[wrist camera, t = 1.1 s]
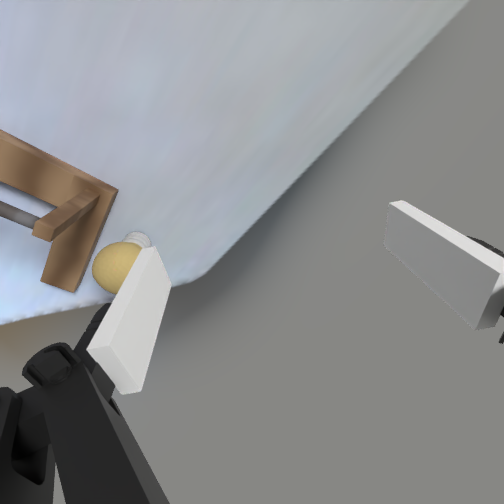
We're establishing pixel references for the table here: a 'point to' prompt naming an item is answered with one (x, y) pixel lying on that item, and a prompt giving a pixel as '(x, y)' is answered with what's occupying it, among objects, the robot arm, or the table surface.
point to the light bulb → (118, 261)
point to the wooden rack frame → (62, 218)
